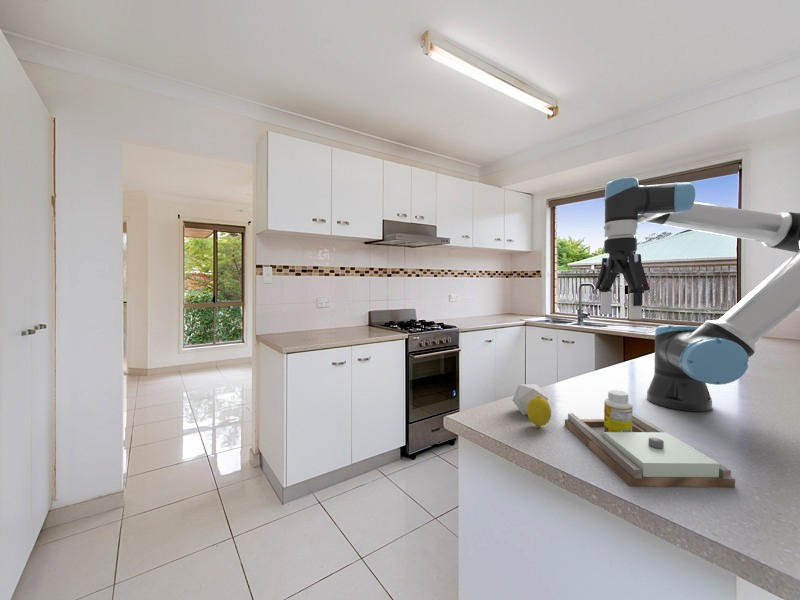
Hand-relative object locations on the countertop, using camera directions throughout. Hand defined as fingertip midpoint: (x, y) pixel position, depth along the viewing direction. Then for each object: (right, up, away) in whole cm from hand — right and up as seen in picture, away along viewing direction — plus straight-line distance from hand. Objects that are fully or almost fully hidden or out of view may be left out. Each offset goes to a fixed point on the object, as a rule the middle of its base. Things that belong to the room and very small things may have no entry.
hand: (619, 316), depth 96 cm
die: (-24, -27, +2) cm, 36 cm away
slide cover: (-10, -27, -27) cm, 39 cm away
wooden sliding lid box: (-10, -28, -20) cm, 36 cm away
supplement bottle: (-9, -27, -14) cm, 32 cm away
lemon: (-25, -28, -8) cm, 38 cm away
